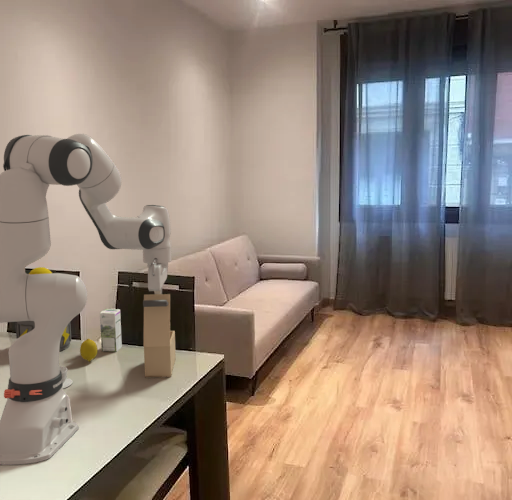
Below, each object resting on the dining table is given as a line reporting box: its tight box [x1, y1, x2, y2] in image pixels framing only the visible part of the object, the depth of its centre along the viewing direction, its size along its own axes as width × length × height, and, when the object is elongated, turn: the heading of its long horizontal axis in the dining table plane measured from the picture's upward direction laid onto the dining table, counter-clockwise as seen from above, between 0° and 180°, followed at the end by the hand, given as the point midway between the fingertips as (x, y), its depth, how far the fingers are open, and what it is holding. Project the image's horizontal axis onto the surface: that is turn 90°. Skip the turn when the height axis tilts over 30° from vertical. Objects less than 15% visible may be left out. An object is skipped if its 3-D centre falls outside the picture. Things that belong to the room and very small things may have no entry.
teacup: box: [59, 365, 74, 390], centre depth 154 cm, size 10×10×5 cm
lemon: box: [79, 338, 98, 362], centre depth 173 cm, size 6×6×8 cm
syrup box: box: [99, 308, 123, 353], centre depth 185 cm, size 6×6×14 cm
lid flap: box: [142, 293, 171, 348], centre depth 156 cm, size 16×8×6 cm
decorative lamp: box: [14, 266, 72, 353], centre depth 186 cm, size 19×19×30 cm
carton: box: [143, 330, 176, 379], centre depth 166 cm, size 16×8×10 cm, turn 4°
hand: (158, 299), depth 164 cm, fingers closed
